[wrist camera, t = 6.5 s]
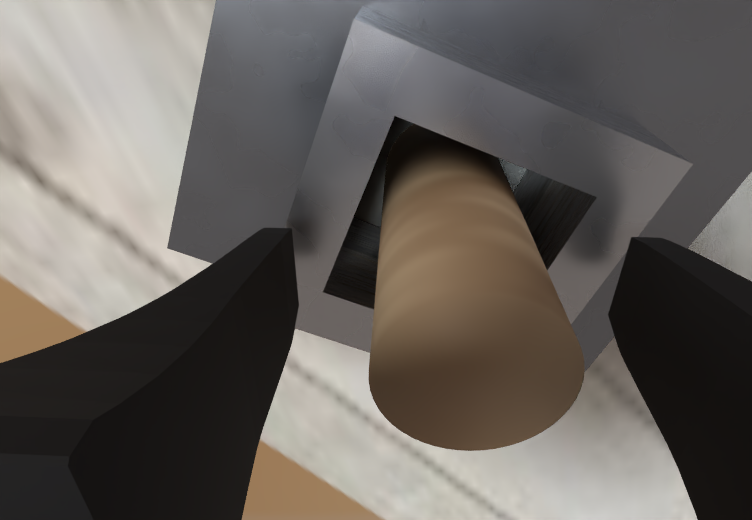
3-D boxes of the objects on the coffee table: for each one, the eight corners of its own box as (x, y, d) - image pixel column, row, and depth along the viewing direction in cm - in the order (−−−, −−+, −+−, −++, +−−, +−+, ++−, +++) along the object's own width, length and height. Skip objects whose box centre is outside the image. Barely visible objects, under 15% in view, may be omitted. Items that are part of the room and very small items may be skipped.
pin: (507, 121, 15) (614, 305, 7) (484, 224, 17) (552, 458, 9) (391, 110, 15) (376, 283, 7) (381, 215, 17) (361, 441, 9)
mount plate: (1044, -288, 10) (1427, -428, 6) (558, 345, 19) (597, 445, 15) (395, -722, 8) (387, -1320, 4) (190, 218, 17) (129, 296, 13)
